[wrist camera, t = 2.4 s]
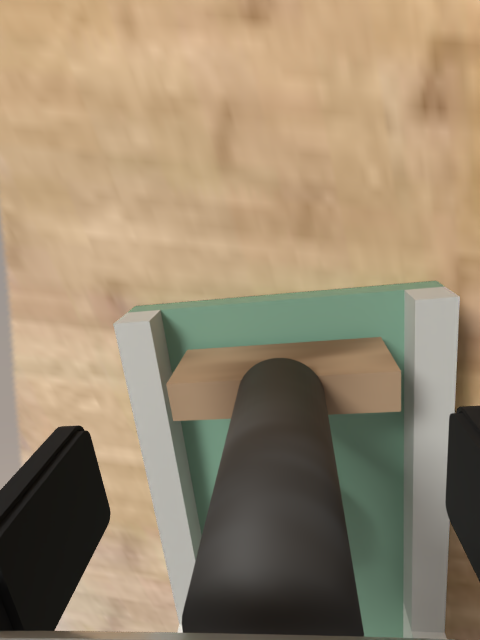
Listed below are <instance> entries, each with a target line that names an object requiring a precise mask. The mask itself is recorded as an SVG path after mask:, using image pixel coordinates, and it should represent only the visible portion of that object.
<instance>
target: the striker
mask: <svg viewBox="0 0 480 640" xmlns="http://www.w3.org/2000/svg"><path fill="white" fill-rule="evenodd" d="M166 386H167V391H168V396H169V402H170V407H171V412H172V418H173V421H188V420H212V419H231V421H230V425H229V429H228V433H227V437H226V441H225V445H224V449H223V453H222V457H221V461H220V465H219V469H218V473H217V477H216V481H215V485H214V489H213V493H212V497H211V501H210V505H209V509H208V513H207V517H206V521H205V525H204V529H203V533H202V537H201V541H200V545H199V549H198V553H197V557H196V561H195V565H194V569H193V573H192V577H191V581H190V585H189V589H188V593H187V597H186V601H185V605H184V610H183V614H182V630H183V633H224V634H273V635H316V636H355V637H364V631H363V624H362V618H361V612H360V606H359V600H358V594H357V588H356V582H355V576H354V569H353V563H352V557H351V551H350V545H349V539H348V533H347V527H346V521H345V515H344V509H343V503H342V496H341V490H340V484H339V478H338V472H337V466H336V460H335V454H334V448H333V442H332V436H331V430H330V423H329V417H328V415H331V414H355V413H379V412H401V370H400V369H399V367H398V365H397V363H396V362H395V360H394V358H393V357H392V355H391V353H390V352H389V350H388V348H387V346H386V345H385V343H384V341H383V340H382V338H381V337H372V338H357V339H342V340H327V341H312V342H297V343H282V344H267V345H252V346H237V347H222V348H208V349H193V350H187V351H186V353H185V354H184V356H183V358H182V359H181V361H180V363H179V364H178V366H177V367H176V369H175V371H174V372H173V374H172V376H171V377H170V379H169V381H168V382H167V384H166Z"/></svg>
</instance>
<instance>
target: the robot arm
mask: <svg viewBox="0 0 480 640" xmlns="http://www.w3.org/2000/svg"><path fill="white" fill-rule="evenodd" d="M445 502H446V510H447V514H448V517H449V520H450V522H451V524H452V526H453V528H454V530H455V532H456V534H457V536H458V538H459V540H460V542H461V544H462V546H463V548H464V551H465V553H466V555H467V557H468V559H469V561H470V563H471V565H472V567H473V569H474V571H475V573H476V575H477V577H478V579H479V581H480V406H466V407H459V408H458V409H457V412H456V413H451V414H450V416H449V433H448V455H447V478H446V500H445ZM109 520H110V507H109V504H108V500H107V496H106V492H105V489H104V485H103V481H102V477H101V473H100V470H99V466H98V462H97V458H96V455H95V451H94V447H93V443H92V440H91V436H90V433H89V432H88V431H84V429H83V427H81V426H62V427H58V428H57V429H56V430H55V431H54V432H53V433H52V434H51V435H50V436H49V437H48V439H47V440H46V441H45V442H44V443H43V444H42V445H41V446H40V447H39V448H38V450H37V451H36V452H35V453H34V454H33V455H32V456H31V457H30V458H29V459H28V461H27V462H26V463H25V464H24V465H23V466H22V467H21V468H20V469H19V470H18V472H17V473H16V474H15V475H14V476H13V477H12V478H11V479H10V480H9V481H8V483H7V484H6V485H5V486H4V487H3V488H2V489H1V490H0V640H453V639H430V638H394V637H355V636H316V635H273V634H224V633H169V632H100V631H54V630H55V628H56V626H57V624H58V622H59V620H60V618H61V616H62V614H63V612H64V610H65V608H66V607H67V605H68V603H69V601H70V599H71V597H72V595H73V593H74V591H75V589H76V587H77V585H78V583H79V581H80V579H81V577H82V575H83V573H84V571H85V569H86V567H87V565H88V563H89V561H90V559H91V557H92V555H93V553H94V551H95V549H96V547H97V545H98V544H99V542H100V540H101V538H102V536H103V534H104V532H105V530H106V528H107V526H108V523H109Z"/></svg>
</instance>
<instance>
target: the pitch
mask: <svg viewBox="0 0 480 640" xmlns="http://www.w3.org/2000/svg"><path fill="white" fill-rule="evenodd" d="M459 303H460V296H458V295H457V294H455V293H454V292H452V291H451V290H449V289H448V288H446V287H445V286H443V285H442V284H440V283H439V282H437V281H429V282H417V283H405V284H393V285H381V286H369V287H357V288H345V289H334V290H322V291H310V292H298V293H286V294H274V295H262V296H250V297H239V298H227V299H215V300H203V301H191V302H179V303H167V304H155V305H144V306H135V307H134V308H132V309H131V310H130V311H129V312H128V313H126V314H125V315H124V316H123V317H121V318H120V319H119V320H118V321H116V322H115V323H114V324H113V325H114V329H115V334H116V338H117V343H118V347H119V352H120V356H121V361H122V365H123V370H124V375H125V379H126V384H127V388H128V393H129V397H130V402H131V406H132V411H133V415H134V420H135V424H136V429H137V434H138V438H139V443H140V447H141V452H142V456H143V461H144V465H145V470H146V474H147V479H148V484H149V488H150V493H151V497H152V502H153V506H154V511H155V515H156V520H157V524H158V529H159V533H160V538H161V543H162V547H163V552H164V556H165V561H166V565H167V570H168V574H169V579H170V583H171V588H172V593H173V597H174V602H175V606H176V611H177V615H178V620H179V628H178V632H177V633H183V630H182V614H183V610H184V605H185V601H186V597H187V593H188V589H189V585H190V581H191V577H192V573H193V569H194V565H195V561H196V557H197V553H198V549H199V545H200V541H201V537H202V533H203V529H204V525H205V521H206V517H207V513H208V509H209V505H210V501H211V497H212V493H213V489H214V485H215V481H216V477H217V473H218V469H219V465H220V461H221V457H222V453H223V449H224V445H225V441H226V437H227V433H228V429H229V425H230V421H231V419H212V420H188V421H173V418H172V412H171V407H170V402H169V396H168V391H167V386H166V384H167V382H168V381H169V379H170V377H171V376H172V374H173V372H174V371H175V369H176V367H177V366H178V364H179V363H180V361H181V359H182V358H183V356H184V354H185V353H186V351H187V350H193V349H208V348H222V347H237V346H252V345H267V344H282V343H297V342H312V341H327V340H342V339H357V338H372V337H381V338H382V340H383V341H384V343H385V345H386V346H387V348H388V350H389V352H390V353H391V355H392V357H393V358H394V360H395V362H396V363H397V365H398V367H399V369H400V370H401V412H379V413H355V414H331V415H328V417H329V423H330V430H331V436H332V442H333V448H334V454H335V460H336V466H337V472H338V478H339V484H340V490H341V496H342V503H343V509H344V515H345V521H346V527H347V533H348V539H349V545H350V551H351V557H352V563H353V569H354V576H355V582H356V588H357V594H358V600H359V606H360V612H361V618H362V624H363V631H364V637H394V638H430V639H447V638H446V635H445V614H446V592H447V570H448V547H449V525H450V520H449V517H448V514H447V510H446V502H445V500H446V478H447V455H448V433H449V416H450V414H451V413H455V392H456V370H457V348H458V326H459Z"/></svg>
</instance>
